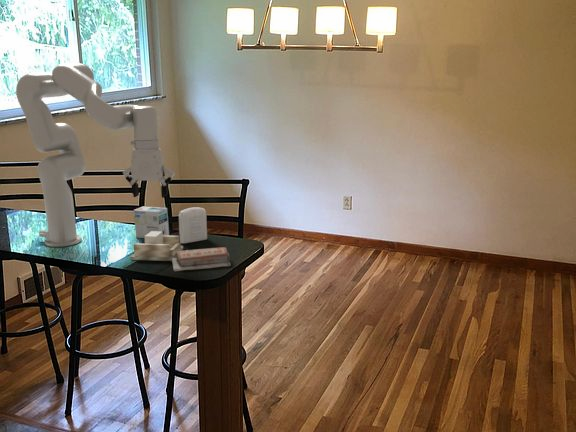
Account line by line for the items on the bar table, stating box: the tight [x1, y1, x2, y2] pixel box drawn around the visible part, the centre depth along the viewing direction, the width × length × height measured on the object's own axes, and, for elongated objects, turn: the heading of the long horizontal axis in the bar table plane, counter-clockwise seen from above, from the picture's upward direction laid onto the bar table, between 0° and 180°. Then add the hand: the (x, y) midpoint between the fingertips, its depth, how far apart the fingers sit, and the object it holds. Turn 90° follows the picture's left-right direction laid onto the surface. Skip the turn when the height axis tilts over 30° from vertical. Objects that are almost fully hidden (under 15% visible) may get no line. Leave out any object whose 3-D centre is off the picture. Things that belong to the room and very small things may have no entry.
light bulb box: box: [133, 205, 170, 239], centre depth 221 cm, size 11×7×11 cm, turn 71°
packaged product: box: [171, 246, 232, 272], centre depth 192 cm, size 18×5×10 cm
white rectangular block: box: [144, 231, 163, 244], centre depth 202 cm, size 4×6×6 cm, turn 171°
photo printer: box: [178, 206, 208, 244], centre depth 215 cm, size 10×4×12 cm, turn 123°
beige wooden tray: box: [130, 234, 184, 262], centre depth 202 cm, size 14×13×5 cm
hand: (150, 196), depth 198 cm, fingers open, 9 cm apart
